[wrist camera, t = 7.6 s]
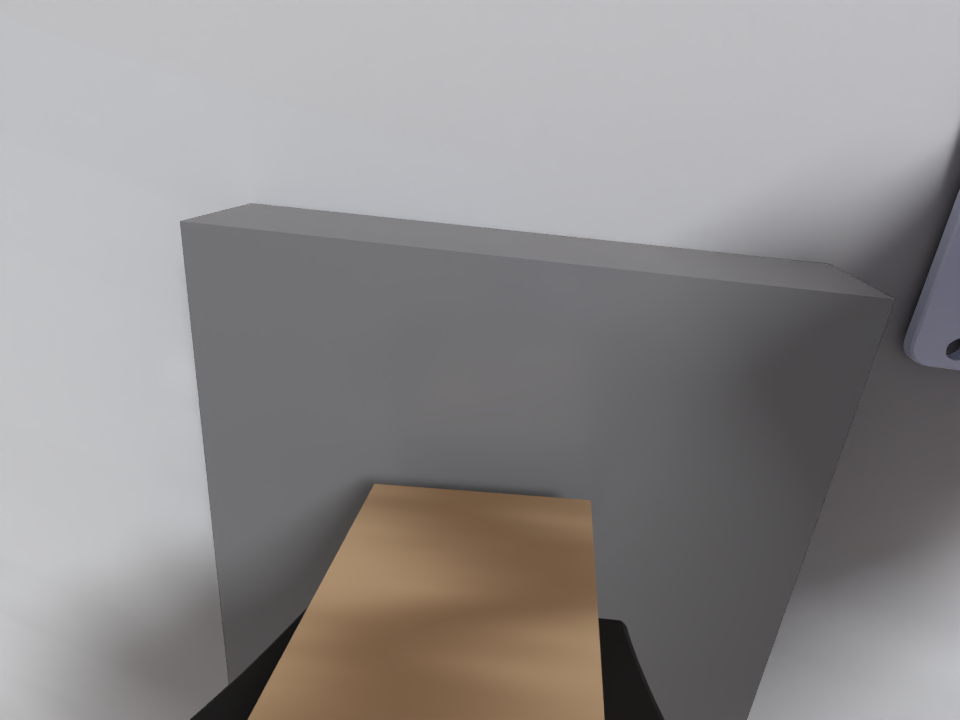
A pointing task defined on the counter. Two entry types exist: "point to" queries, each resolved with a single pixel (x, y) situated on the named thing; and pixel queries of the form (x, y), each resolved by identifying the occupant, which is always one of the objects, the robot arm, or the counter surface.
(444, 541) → the oak block
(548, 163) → the counter surface
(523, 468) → the slate base
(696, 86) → the counter surface
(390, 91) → the counter surface
